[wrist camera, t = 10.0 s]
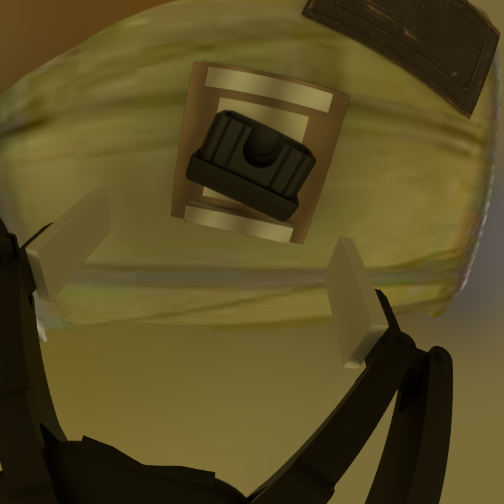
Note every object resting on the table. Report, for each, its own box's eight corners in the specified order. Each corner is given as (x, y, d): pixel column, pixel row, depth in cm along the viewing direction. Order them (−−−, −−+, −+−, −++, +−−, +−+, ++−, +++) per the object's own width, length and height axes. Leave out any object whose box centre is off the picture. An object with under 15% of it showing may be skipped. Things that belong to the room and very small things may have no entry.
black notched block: (196, 166, 30) (178, 187, 24) (223, 106, 26) (210, 111, 20) (280, 204, 31) (282, 234, 26) (312, 149, 28) (323, 166, 22)
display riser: (177, 207, 35) (167, 221, 32) (199, 63, 26) (189, 59, 22) (301, 234, 36) (303, 251, 33) (344, 95, 27) (353, 96, 23)
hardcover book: (460, 116, 26) (470, 119, 24) (299, 18, 23) (301, 13, 21) (491, 31, 18) (501, 31, 16) (345, -68, 15) (349, -75, 13)
